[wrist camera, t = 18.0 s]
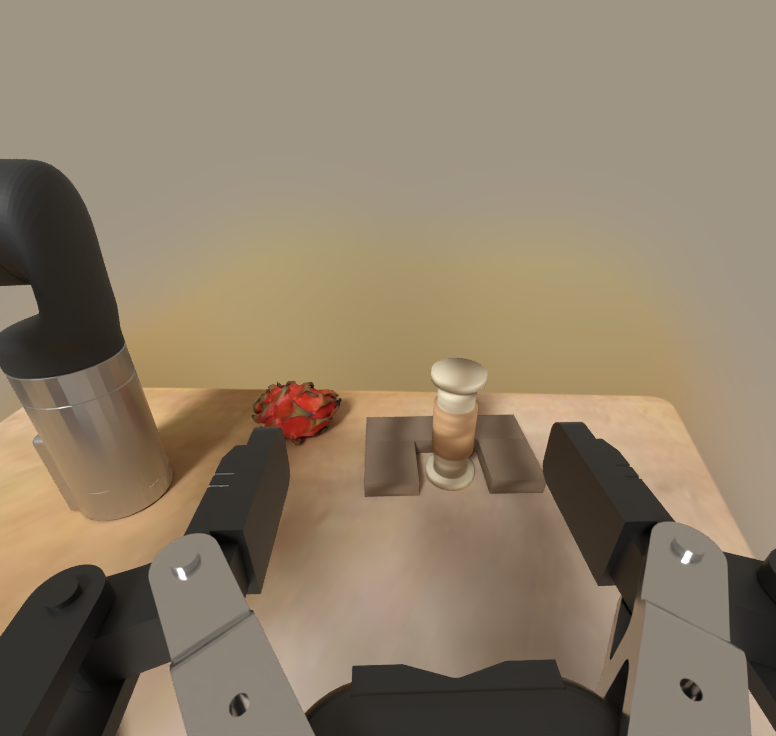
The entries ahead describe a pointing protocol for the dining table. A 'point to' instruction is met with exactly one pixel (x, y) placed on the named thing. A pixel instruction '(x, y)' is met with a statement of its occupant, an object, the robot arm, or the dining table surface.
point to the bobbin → (454, 422)
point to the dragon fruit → (296, 409)
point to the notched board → (414, 435)
